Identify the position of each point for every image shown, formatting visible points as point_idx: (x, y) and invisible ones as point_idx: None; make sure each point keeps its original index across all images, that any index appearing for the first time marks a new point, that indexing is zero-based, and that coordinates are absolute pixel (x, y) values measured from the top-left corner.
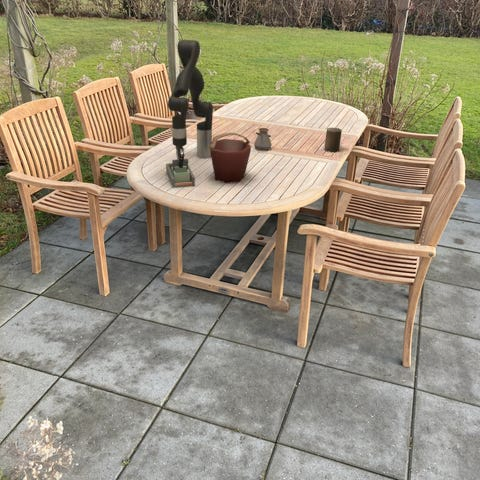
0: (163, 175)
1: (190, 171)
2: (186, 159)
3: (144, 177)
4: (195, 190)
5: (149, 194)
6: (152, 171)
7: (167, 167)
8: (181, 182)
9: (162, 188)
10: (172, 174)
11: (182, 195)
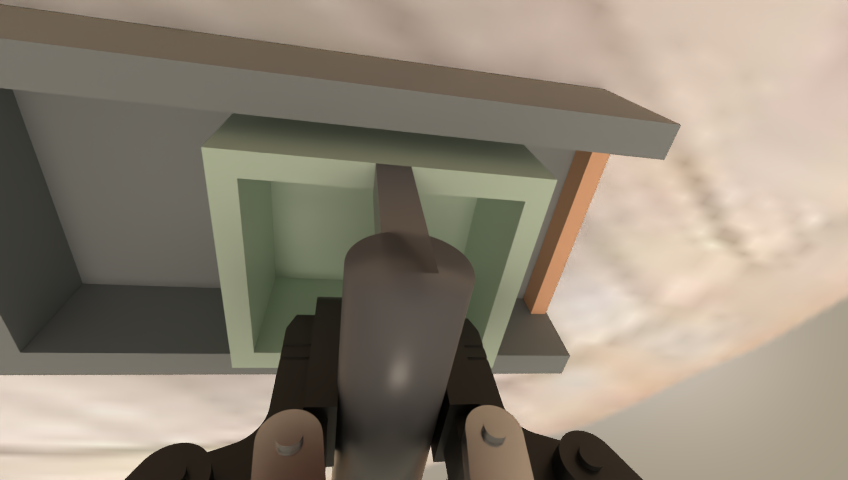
0: None
1: (416, 114)
2: (440, 343)
3: (227, 443)
4: (711, 123)
5: (551, 433)
6: (64, 392)
7: (167, 373)
8: None
9: None
10: None
11: (713, 264)
